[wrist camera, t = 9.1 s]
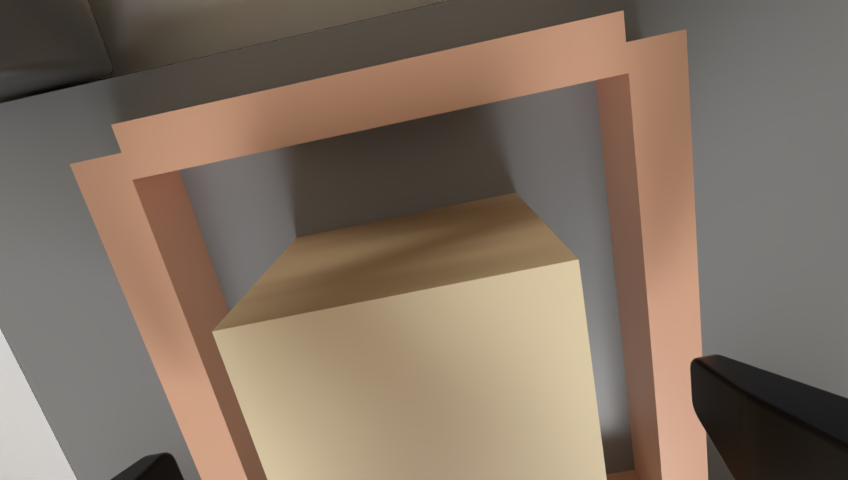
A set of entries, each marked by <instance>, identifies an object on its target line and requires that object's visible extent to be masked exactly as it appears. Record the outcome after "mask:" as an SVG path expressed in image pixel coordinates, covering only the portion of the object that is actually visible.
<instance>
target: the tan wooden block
mask: <svg viewBox="0 0 848 480" xmlns="http://www.w3.org/2000/svg"><path fill="white" fill-rule="evenodd" d="M212 333H213V336H214V338H215V341H216V344H217V346H218V349H219V352H220V354H221V357H222V360H223V362H224V365H225V368H226V370H227V373H228V376H229V378H230V381H231V384H232V386H233V389H234V392H235V394H236V397H237V400H238V402H239V405H240V408H241V410H242V413H243V416H244V418H245V421H246V424H247V426H248V429H249V432H250V434H251V437H252V440H253V442H254V445H255V448H256V450H257V453H258V456H259V458H260V461H261V464H262V466H263V469H264V472H265V474H266V477H267V480H607V478H606V470H605V462H604V454H603V446H602V438H601V431H600V423H599V415H598V407H597V399H596V391H595V383H594V376H593V368H592V360H591V352H590V344H589V336H588V328H587V321H586V313H585V305H584V297H583V289H582V281H581V273H580V266H579V259H578V258H577V257H576V256H575V255H574V254H573V253H572V252H571V251H570V250H569V248H568V247H567V246H566V245H565V244H564V243H563V242H562V241H561V240H560V239H559V238H558V237H557V236H556V235H555V233H554V232H553V231H552V230H551V229H550V228H549V227H548V226H547V225H546V224H545V223H544V222H543V221H542V220H541V219H540V217H539V216H538V215H537V214H536V213H535V212H534V211H533V210H532V209H531V208H530V207H529V206H528V205H527V204H526V203H525V201H524V200H523V199H522V198H521V197H520V196H519V195H518V194H517V193H516V192H515V193H510V194H506V195H501V196H496V197H491V198H486V199H481V200H477V201H472V202H467V203H462V204H457V205H452V206H448V207H443V208H438V209H433V210H428V211H423V212H419V213H414V214H409V215H404V216H399V217H394V218H389V219H385V220H380V221H375V222H370V223H365V224H360V225H356V226H351V227H346V228H341V229H336V230H331V231H327V232H322V233H317V234H312V235H307V236H302V237H298V238H296V239H295V240H294V241H293V242H292V243H291V244H290V245H289V246H288V247H287V249H286V250H285V251H284V252H283V253H282V254H281V255H280V256H279V257H278V259H277V260H276V261H275V262H274V263H273V264H272V265H271V266H270V267H269V269H268V270H267V271H266V272H265V273H264V274H263V275H262V276H261V277H260V279H259V280H258V281H257V282H256V283H255V284H254V285H253V286H252V287H251V289H250V290H249V291H248V292H247V293H246V294H245V295H244V296H243V297H242V299H241V300H240V301H239V302H238V303H237V304H236V305H235V306H234V307H233V309H232V310H231V311H230V312H229V313H228V314H227V315H226V316H225V317H224V319H223V320H222V321H221V322H220V323H219V324H218V325H217V326H216V327H215V329H214V330H213V331H212Z"/></svg>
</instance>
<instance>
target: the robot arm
mask: <svg viewBox="0 0 848 480" xmlns="http://www.w3.org/2000/svg"><path fill="white" fill-rule="evenodd" d="M690 375H691V393H692V404H693V408H694V411H695V413H696V415H697V417H698V419H699V421H700V422H701V424H702V426H703V427H704V429H705V431H706V432H707V434H708V436H709V437H710V439H711V441H712V443H713V444H714V446H715V448H716V449H717V451H718V453H719V454H720V456H721V458H722V459H723V461H724V463H725V464H726V466H727V468H728V470H729V471H730V473H731V475H732V476H733V478H734V480H848V398H846V397H843V396H840V395H837V394H834V393H831V392H828V391H825V390H822V389H819V388H816V387H813V386H810V385H808V384H805V383H802V382H799V381H796V380H793V379H790V378H787V377H784V376H781V375H778V374H775V373H772V372H769V371H766V370H763V369H760V368H758V367H755V366H752V365H749V364H746V363H743V362H740V361H737V360H734V359H731V358H728V357H725V356H722V355H719V354H714V355H708V356H703V357H697V358H694V359H693V360H692V361H691V364H690ZM110 480H184V478H183V475H182V473H181V471H180V468H179V466H178V464H177V462H176V459H175V457H174V456H173V455H172V454H171V453H168V452H163V453H158V454H152V455H147V456H144V457H143V458H141V459H140V460H138V461H137V462H135V463H134V464H132V465H131V466H129V467H128V468H126V469H125V470H124V471H122V472H121V473H119V474H118V475H116V476H115V477H113V478H112V479H110Z"/></svg>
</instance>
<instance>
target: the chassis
mask: <svg viewBox="0 0 848 480" xmlns="http://www.w3.org/2000/svg"><path fill="white" fill-rule="evenodd" d="M112 71H113V67H112V64H111V61H110V59H109V56H108V53H107V51H106V48H105V45H104V43H103V40H102V37H101V34H100V32H99V29H98V26H97V24H96V21H95V18H94V16H93V13H92V10H91V8H90V5H89V2H88V0H0V329H1V331H2V333H3V335H4V337H5V339H6V341H7V343H8V345H9V346H10V348H11V350H12V352H13V354H14V356H15V358H16V360H17V362H18V364H19V366H20V368H21V370H22V372H23V374H24V376H25V378H26V380H27V382H28V384H29V386H30V388H31V390H32V392H33V394H34V396H35V398H36V400H37V401H38V403H39V405H40V407H41V409H42V411H43V413H44V415H45V417H46V419H47V421H48V423H49V425H50V427H51V429H52V431H53V433H54V435H55V437H56V439H57V441H58V443H59V445H60V447H61V449H62V451H63V453H64V455H65V456H66V458H67V460H68V462H69V464H70V466H71V468H72V470H73V472H74V474H75V476H76V478H77V480H110V479H112V478H113V477H115V476H116V475H118V474H119V473H121V472H122V471H124V470H125V469H126V468H128V467H129V466H131V465H132V464H134V463H135V462H137V461H138V460H140V459H141V458H143V457H144V456H147V455H152V454H158V453H163V452H168V453H171V454H172V455H173V456H174V457H175V459H176V462H177V464H178V466H179V468H180V471H181V473H182V475H183V478H184V480H267V477H266V474H265V472H264V469H263V466H262V464H261V461H260V458H259V456H258V453H257V450H256V448H255V445H254V442H253V440H252V437H251V434H250V432H249V429H248V426H247V424H246V421H245V418H244V416H243V413H242V410H241V408H240V405H239V402H238V400H237V397H236V394H235V392H234V389H233V386H232V384H231V381H230V378H229V376H228V373H227V370H226V368H225V365H224V362H223V360H222V357H221V354H220V352H219V349H218V346H217V344H216V341H215V338H214V336H213V333H212V331H213V330H214V329H215V327H216V326H217V325H218V324H219V323H220V322H221V321H222V320H223V319H224V317H225V316H226V315H227V314H228V313H229V312H230V311H231V310H232V309H233V307H234V306H235V305H236V304H237V303H238V302H239V301H240V300H241V299H242V297H243V296H244V295H245V294H246V293H247V292H248V291H249V290H250V289H251V287H252V286H253V285H254V284H255V283H256V282H257V281H258V280H259V279H260V277H261V276H262V275H263V274H264V273H265V272H266V271H267V270H268V269H269V267H270V266H271V265H272V264H273V263H274V262H275V261H276V260H277V259H278V257H279V256H280V255H281V254H282V253H283V252H284V251H285V250H286V249H287V247H288V246H289V245H290V244H291V243H292V242H293V241H294V240H295V239H296V238H298V237H302V236H307V235H312V234H317V233H322V232H327V231H331V230H336V229H341V228H346V227H351V226H356V225H360V224H365V223H370V222H375V221H380V220H385V219H389V218H394V217H399V216H404V215H409V214H414V213H419V212H423V211H428V210H433V209H438V208H443V207H448V206H452V205H457V204H462V203H467V202H472V201H477V200H481V199H486V198H491V197H496V196H501V195H506V194H510V193H515V192H516V193H517V194H518V195H519V196H520V197H521V198H522V199H523V200H524V201H525V203H526V204H527V205H528V206H529V207H530V208H531V209H532V210H533V211H534V212H535V213H536V214H537V215H538V216H539V217H540V219H541V220H542V221H543V222H544V223H545V224H546V225H547V226H548V227H549V228H550V229H551V230H552V231H553V232H554V233H555V235H556V236H557V237H558V238H559V239H560V240H561V241H562V242H563V243H564V244H565V245H566V246H567V247H568V248H569V250H570V251H571V252H572V253H573V254H574V255H575V256H576V257H577V258H578V259H579V266H580V273H581V281H582V289H583V297H584V305H585V313H586V321H587V328H588V336H589V344H590V352H591V360H592V368H593V376H594V383H595V391H596V399H597V407H598V415H599V423H600V431H601V438H602V446H603V454H604V462H605V470H606V478H607V480H734V478H733V476H732V475H731V473H730V471H729V470H728V468H727V466H726V464H725V463H724V461H723V459H722V458H721V456H720V454H719V453H718V451H717V449H716V448H715V446H714V444H713V443H712V441H711V439H710V437H709V436H708V434H707V432H706V431H705V429H704V427H703V426H702V424H701V422H700V421H699V419H698V417H697V415H696V413H695V411H694V408H693V404H692V393H691V375H690V364H691V361H692V360H693V359H694V358H697V357H703V356H708V355H714V354H719V355H722V356H725V357H728V358H731V359H734V360H737V361H740V362H743V363H746V364H749V365H752V366H755V367H758V368H760V369H763V370H766V371H769V372H772V373H775V374H778V375H781V376H784V377H787V378H790V379H793V380H796V381H799V382H802V383H805V384H808V385H810V386H813V387H816V388H819V389H822V390H825V391H828V392H831V393H834V394H837V395H840V396H843V397H846V398H848V0H450V1H445V2H441V3H437V4H432V5H428V6H423V7H419V8H415V9H410V10H406V11H402V12H397V13H393V14H389V15H384V16H380V17H376V18H371V19H367V20H362V21H358V22H354V23H349V24H345V25H341V26H336V27H332V28H328V29H323V30H319V31H314V32H310V33H306V34H301V35H297V36H293V37H288V38H284V39H280V40H275V41H271V42H266V43H262V44H258V45H253V46H249V47H245V48H240V49H236V50H232V51H227V52H223V53H218V54H214V55H210V56H205V57H201V58H197V59H192V60H188V61H184V62H179V63H175V64H170V65H166V66H162V67H157V68H153V69H149V70H144V71H140V72H136V73H131V74H127V75H123V76H118V77H114V78H109V79H105V80H101V81H96V80H99V79H101V78H103V77H106V76H107V75H109V74H110V73H111V72H112ZM94 81H96V82H94ZM91 82H92V83H91ZM8 101H9V102H8ZM2 102H5V103H2Z"/></svg>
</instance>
